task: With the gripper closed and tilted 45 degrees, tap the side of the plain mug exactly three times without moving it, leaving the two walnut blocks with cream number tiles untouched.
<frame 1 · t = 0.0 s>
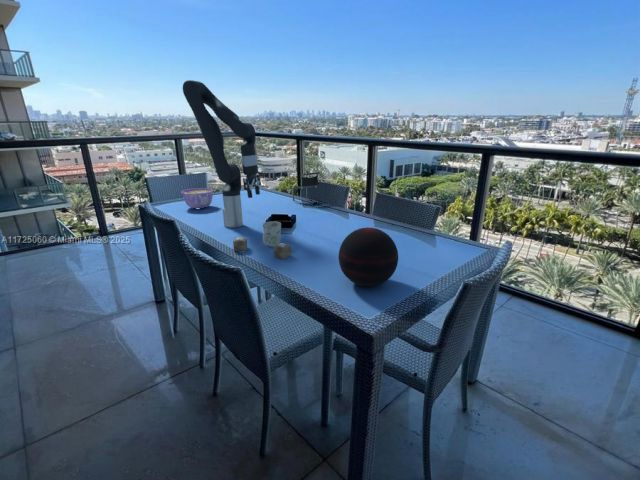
hand: (254, 196, 171), 17 cm above the table, tool pointing down, fingers open, 8 cm apart
walnut block left: (240, 249, 145), on the table
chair: (306, 202, 233), on the table
decorative orb: (366, 283, 114), on the table
walnut block right: (282, 256, 138), on the table
mug: (271, 246, 150), on the table
bowl of food: (199, 208, 219), on the table
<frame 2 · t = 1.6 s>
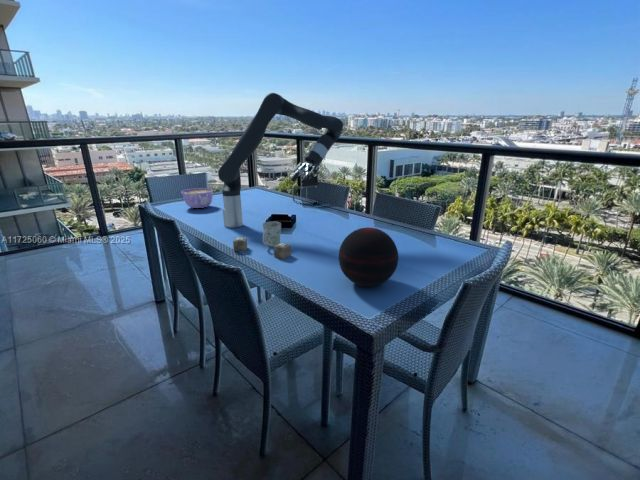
hand: (297, 182, 152), 27 cm above the table, tool tilted 45°, fingers open, 8 cm apart
nothing on the table moved.
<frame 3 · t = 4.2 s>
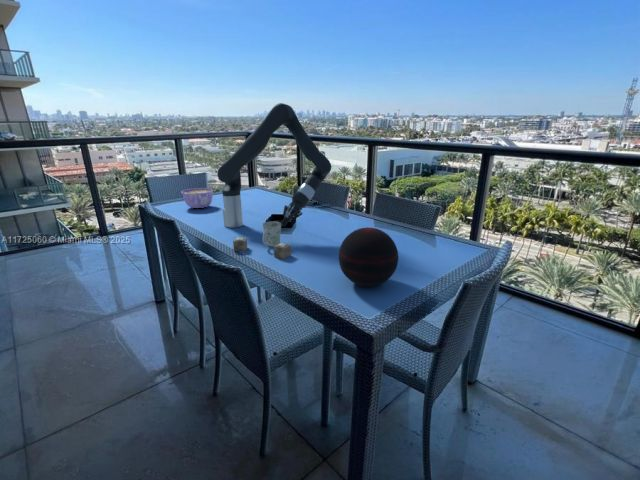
hand: (282, 225, 150), 9 cm above the table, tool tilted 45°, fingers closed
mug: (271, 246, 150), on the table, touching gripper
everything else where it was.
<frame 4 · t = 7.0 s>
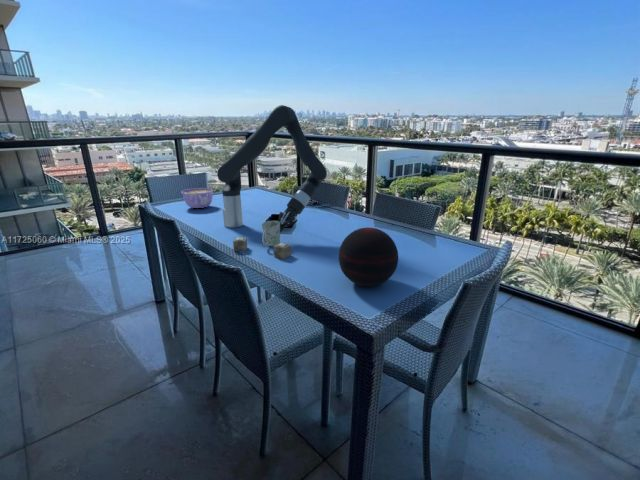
hand: (277, 232, 150), 6 cm above the table, tool tilted 45°, fingers closed
nothing on the table moved.
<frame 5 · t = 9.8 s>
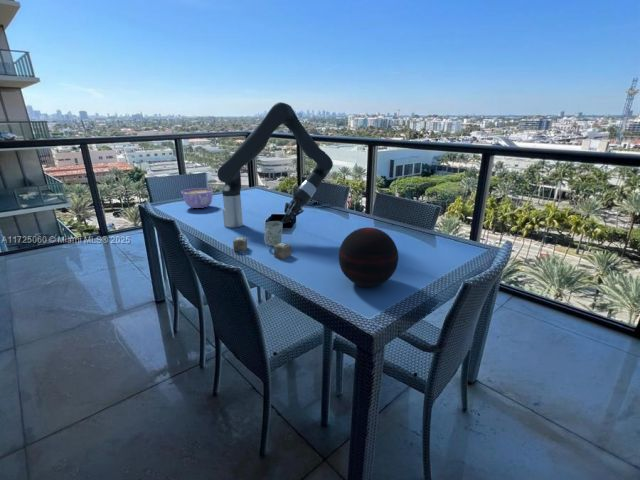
hand: (283, 222, 150), 10 cm above the table, tool tilted 45°, fingers closed
mug: (272, 246, 150), on the table
everything else where it was.
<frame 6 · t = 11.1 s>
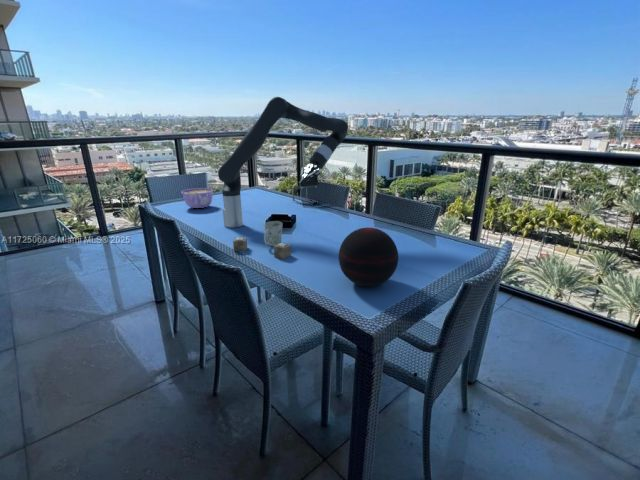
hand: (300, 185, 151), 26 cm above the table, tool tilted 45°, fingers closed
nothing on the table moved.
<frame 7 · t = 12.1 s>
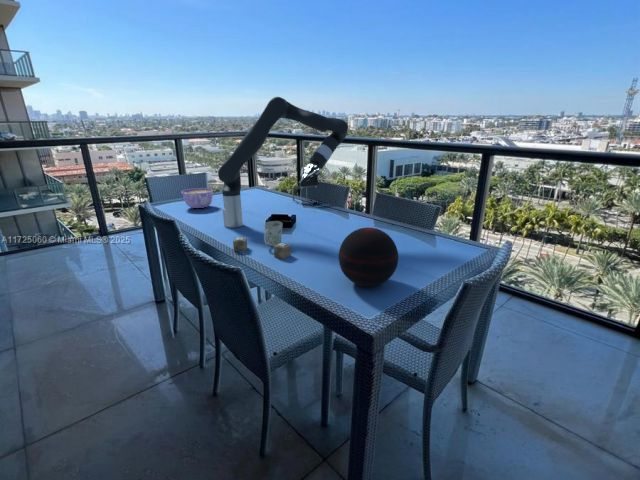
hand: (300, 185, 151), 26 cm above the table, tool tilted 45°, fingers closed
nothing on the table moved.
at the end: mug moved 0.7 cm from its start; mug tilted 0°; the gripper is holding nothing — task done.
